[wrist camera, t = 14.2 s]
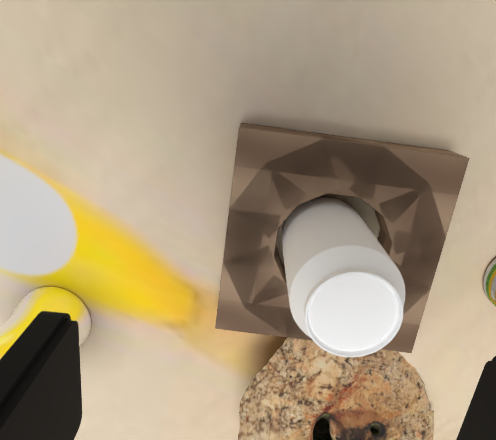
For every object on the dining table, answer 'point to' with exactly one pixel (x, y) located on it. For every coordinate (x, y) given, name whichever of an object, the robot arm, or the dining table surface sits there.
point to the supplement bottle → (490, 282)
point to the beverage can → (340, 279)
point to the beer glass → (44, 301)
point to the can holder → (335, 182)
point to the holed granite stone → (335, 397)
